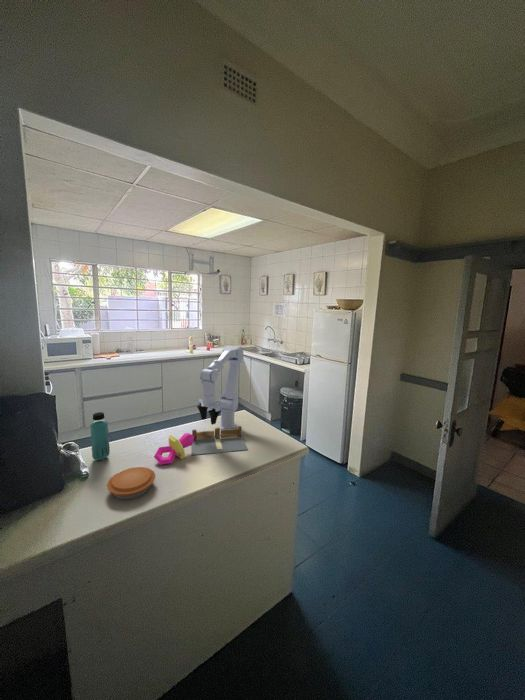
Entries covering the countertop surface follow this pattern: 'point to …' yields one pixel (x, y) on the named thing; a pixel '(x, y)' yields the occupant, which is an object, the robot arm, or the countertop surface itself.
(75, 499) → the countertop surface
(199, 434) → the fence hinged
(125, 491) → the pie
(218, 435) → the fence fixed
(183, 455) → the toy
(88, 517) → the countertop surface
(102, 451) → the beverage bottle
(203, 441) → the card
